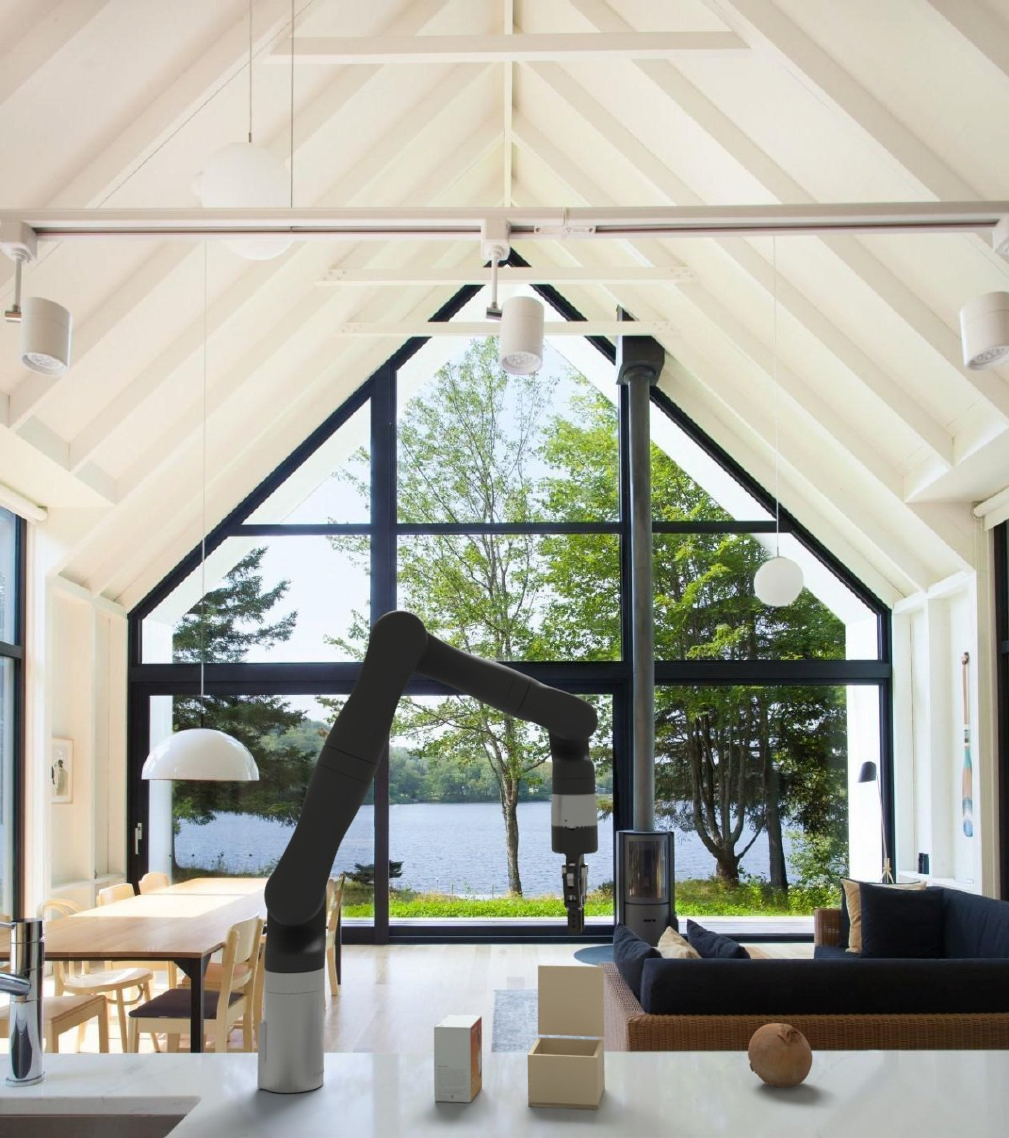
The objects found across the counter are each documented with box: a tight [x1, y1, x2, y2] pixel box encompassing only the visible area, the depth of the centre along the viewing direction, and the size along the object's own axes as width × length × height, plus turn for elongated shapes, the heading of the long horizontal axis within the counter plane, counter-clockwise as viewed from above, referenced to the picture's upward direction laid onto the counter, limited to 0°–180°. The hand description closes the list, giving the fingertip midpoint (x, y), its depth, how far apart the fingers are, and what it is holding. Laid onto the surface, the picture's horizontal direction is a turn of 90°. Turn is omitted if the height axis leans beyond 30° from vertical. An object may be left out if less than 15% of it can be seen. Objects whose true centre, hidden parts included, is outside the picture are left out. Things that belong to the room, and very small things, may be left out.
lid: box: [537, 964, 605, 1038], centre depth 181 cm, size 10×10×1 cm
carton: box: [527, 1036, 606, 1110], centre depth 175 cm, size 10×10×7 cm
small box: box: [433, 1014, 483, 1103], centre depth 177 cm, size 8×6×10 cm
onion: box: [747, 1022, 813, 1089], centre depth 180 cm, size 10×9×10 cm
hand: (576, 932), depth 191 cm, fingers open, 3 cm apart
